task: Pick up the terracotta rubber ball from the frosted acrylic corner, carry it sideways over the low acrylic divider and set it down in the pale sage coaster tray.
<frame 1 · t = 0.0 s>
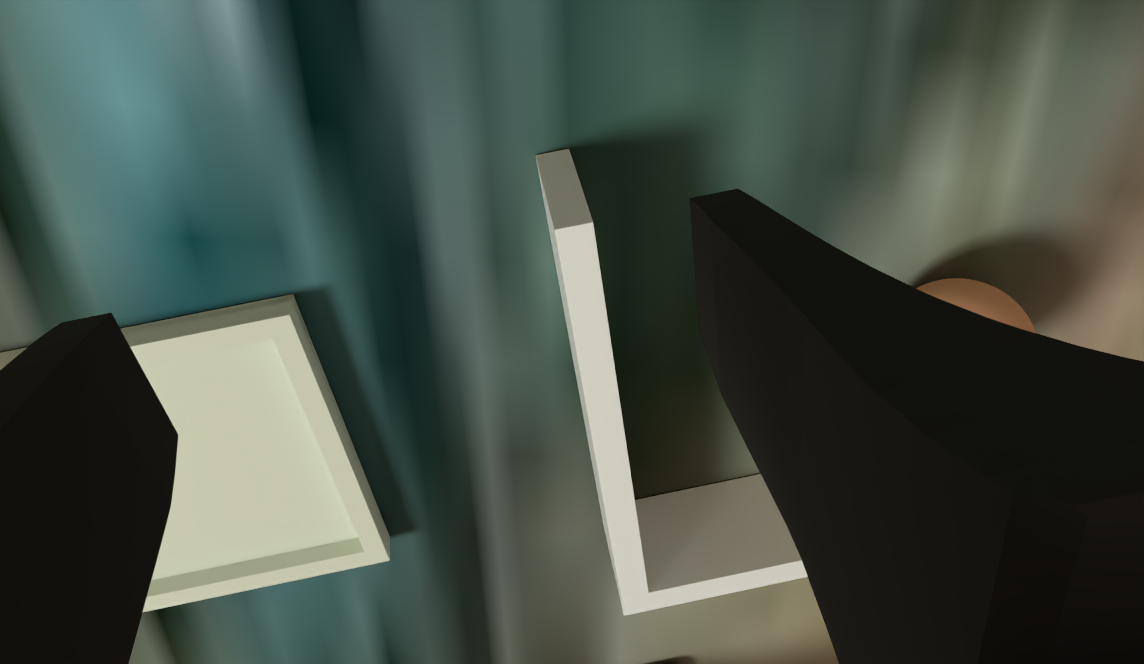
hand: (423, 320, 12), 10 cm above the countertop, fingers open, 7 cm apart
ball: (921, 311, 26), on the countertop
acrylic walls: (588, 365, 25), on the countertop
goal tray: (181, 462, 25), on the countertop
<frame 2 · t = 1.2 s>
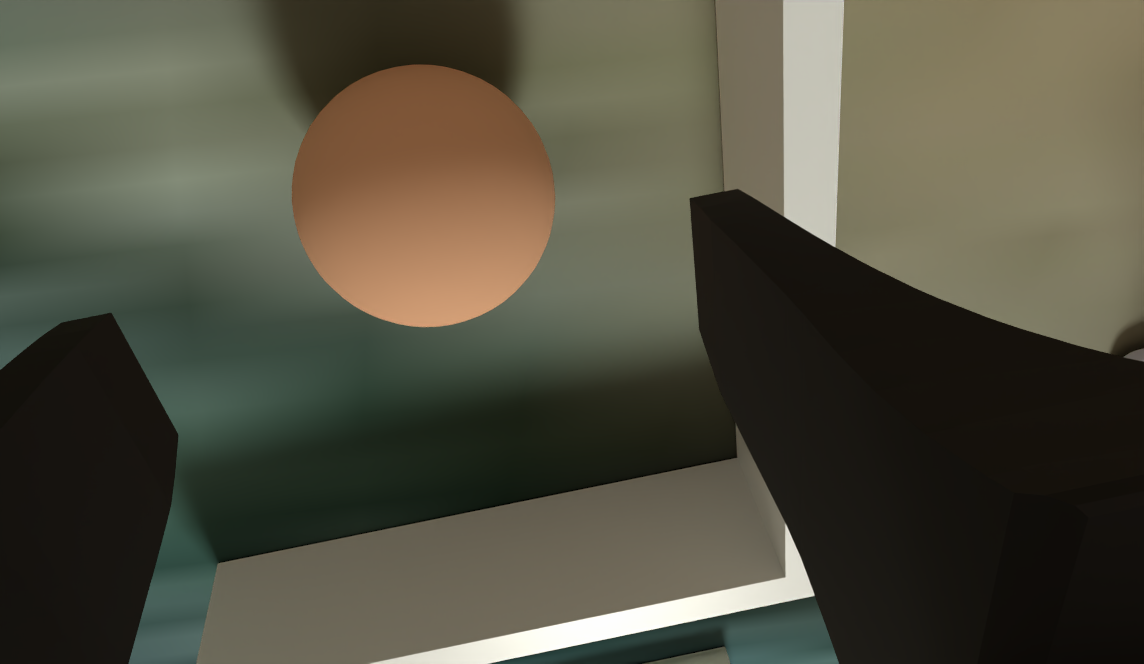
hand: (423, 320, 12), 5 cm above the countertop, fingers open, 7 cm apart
ball: (424, 144, 16), on the countertop
acrylic walls: (499, 518, 22), on the countertop
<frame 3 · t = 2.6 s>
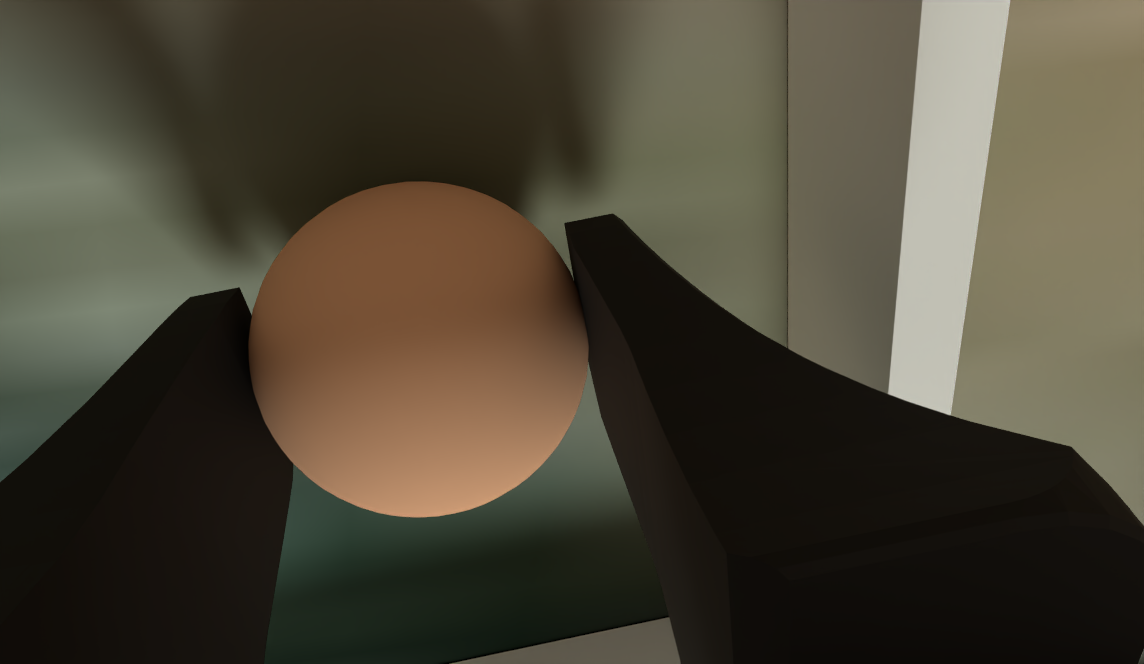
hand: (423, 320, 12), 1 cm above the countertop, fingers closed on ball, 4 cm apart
ball: (421, 261, 13), on the countertop, touching gripper
acrylic walls: (510, 663, 18), on the countertop
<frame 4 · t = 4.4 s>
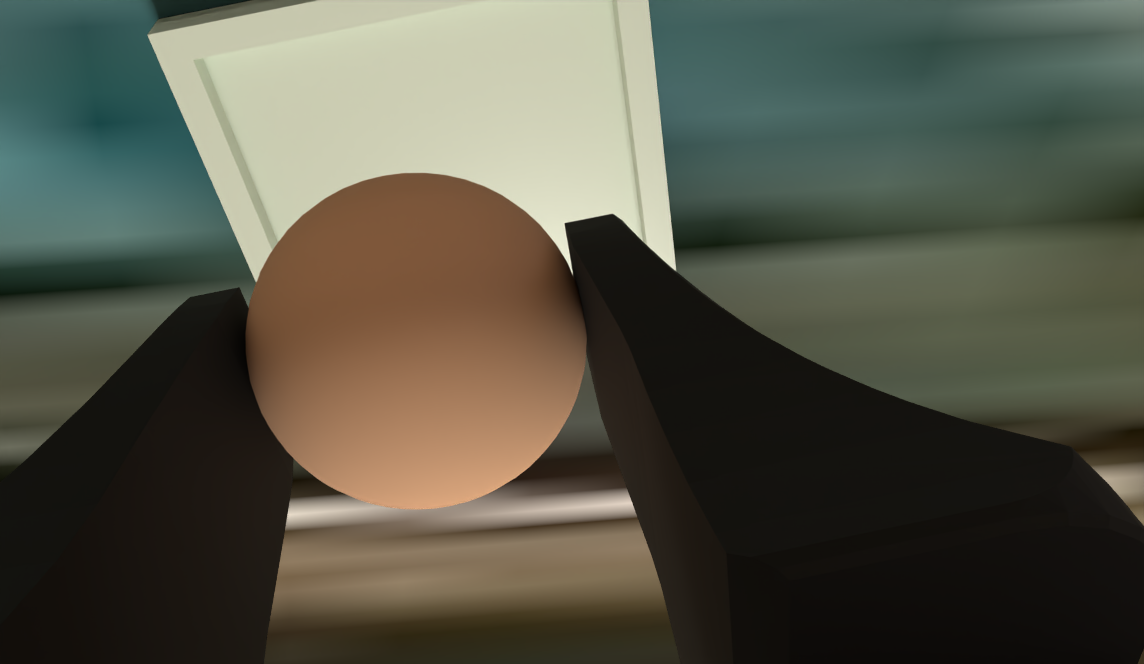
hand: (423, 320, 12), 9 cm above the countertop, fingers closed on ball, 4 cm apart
ball: (417, 254, 13), point 7 cm above the countertop, touching gripper
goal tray: (452, 183, 20), on the countertop
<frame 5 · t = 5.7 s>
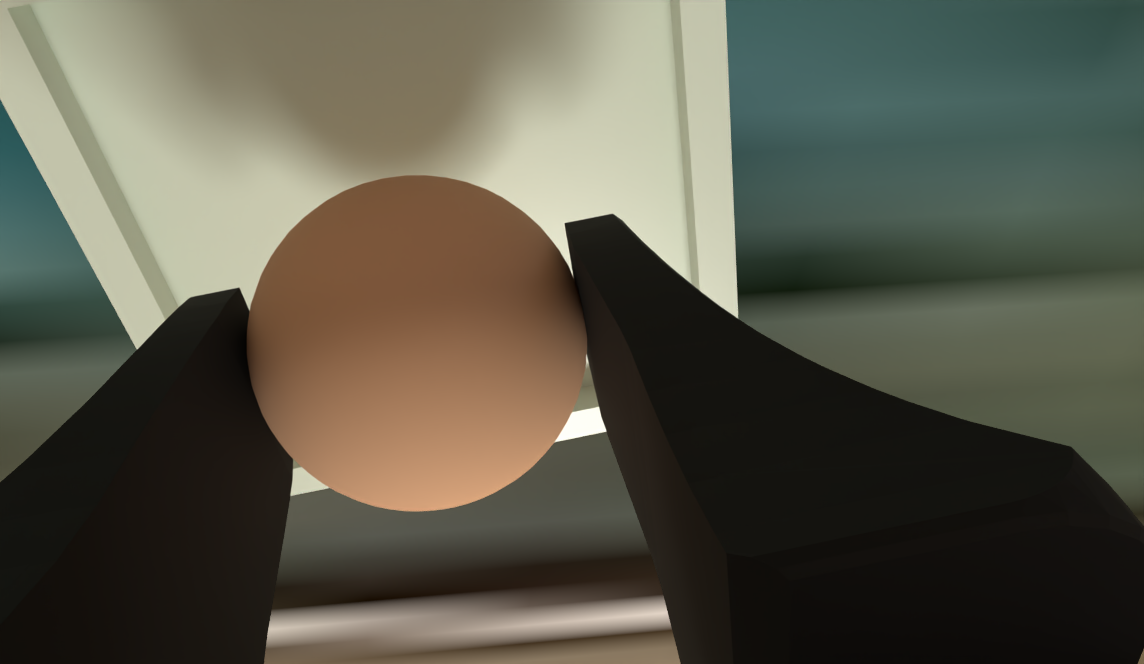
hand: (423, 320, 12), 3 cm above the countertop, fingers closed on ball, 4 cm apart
ball: (418, 256, 13), point 2 cm above the countertop, touching gripper
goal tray: (421, 202, 14), on the countertop
when the fingers open (3 cm above the countertop, at t = 6.6 s): ball stays where it is, resting on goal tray.
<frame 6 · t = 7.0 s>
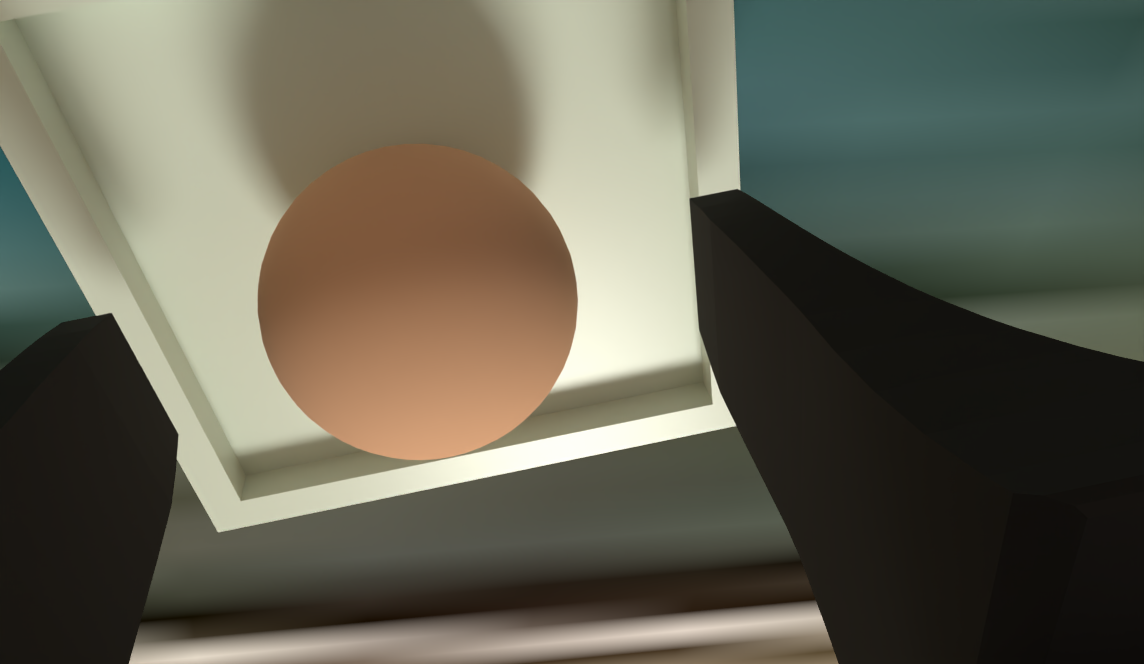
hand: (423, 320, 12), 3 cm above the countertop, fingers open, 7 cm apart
ball: (417, 226, 13), resting on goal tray
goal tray: (420, 219, 14), on the countertop
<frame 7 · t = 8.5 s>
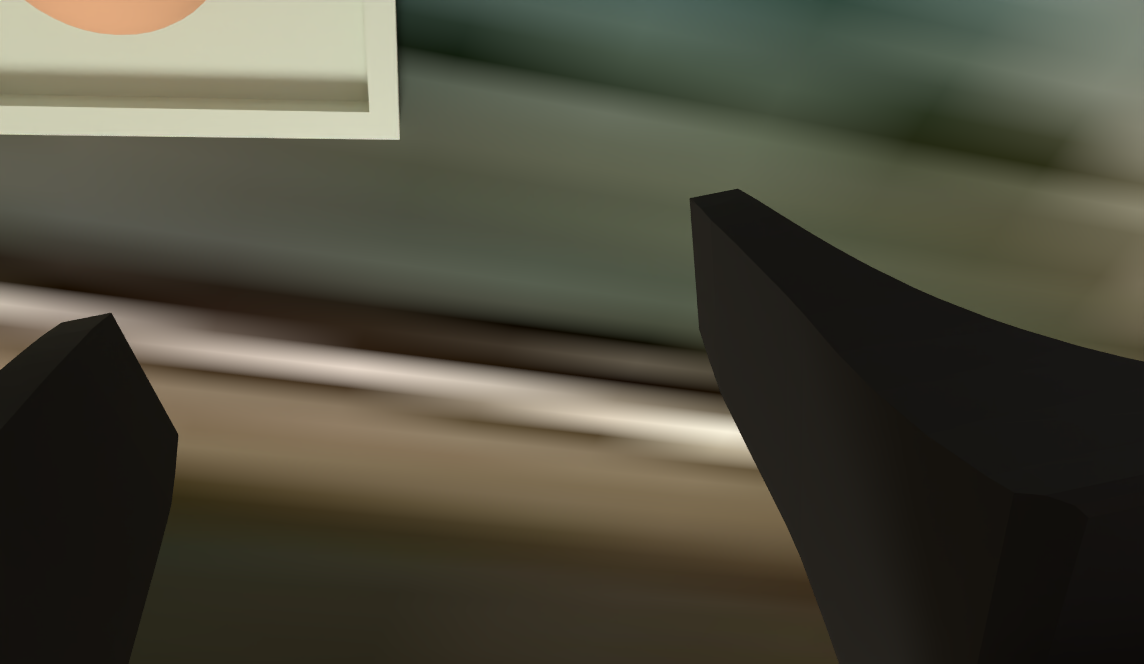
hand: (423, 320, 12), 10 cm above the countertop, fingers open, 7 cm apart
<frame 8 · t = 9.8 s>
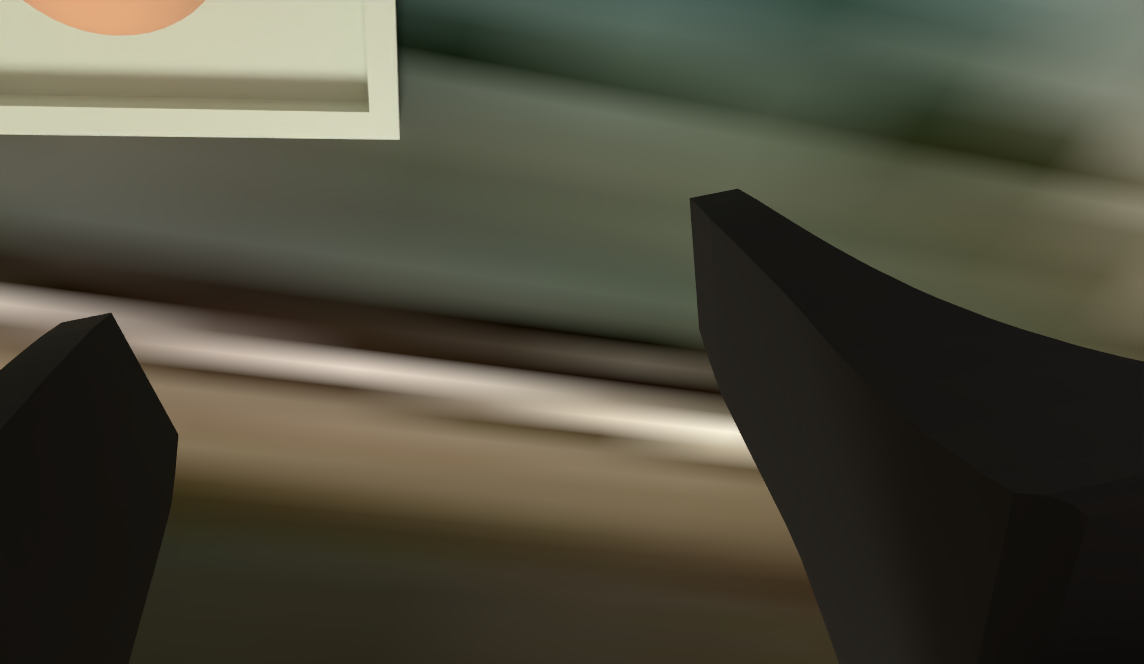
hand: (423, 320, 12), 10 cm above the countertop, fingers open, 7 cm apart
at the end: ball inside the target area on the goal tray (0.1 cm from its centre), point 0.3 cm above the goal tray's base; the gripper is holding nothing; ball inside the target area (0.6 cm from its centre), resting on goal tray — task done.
